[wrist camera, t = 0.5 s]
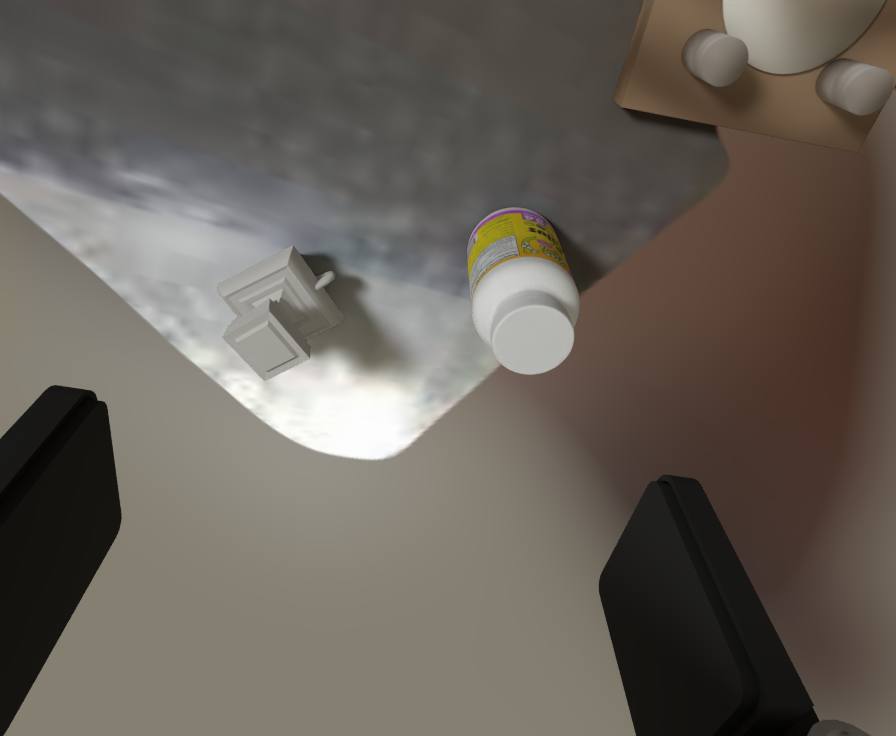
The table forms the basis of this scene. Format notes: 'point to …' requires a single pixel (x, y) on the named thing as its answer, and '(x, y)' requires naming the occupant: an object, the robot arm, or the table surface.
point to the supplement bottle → (522, 290)
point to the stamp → (277, 312)
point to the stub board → (765, 66)
